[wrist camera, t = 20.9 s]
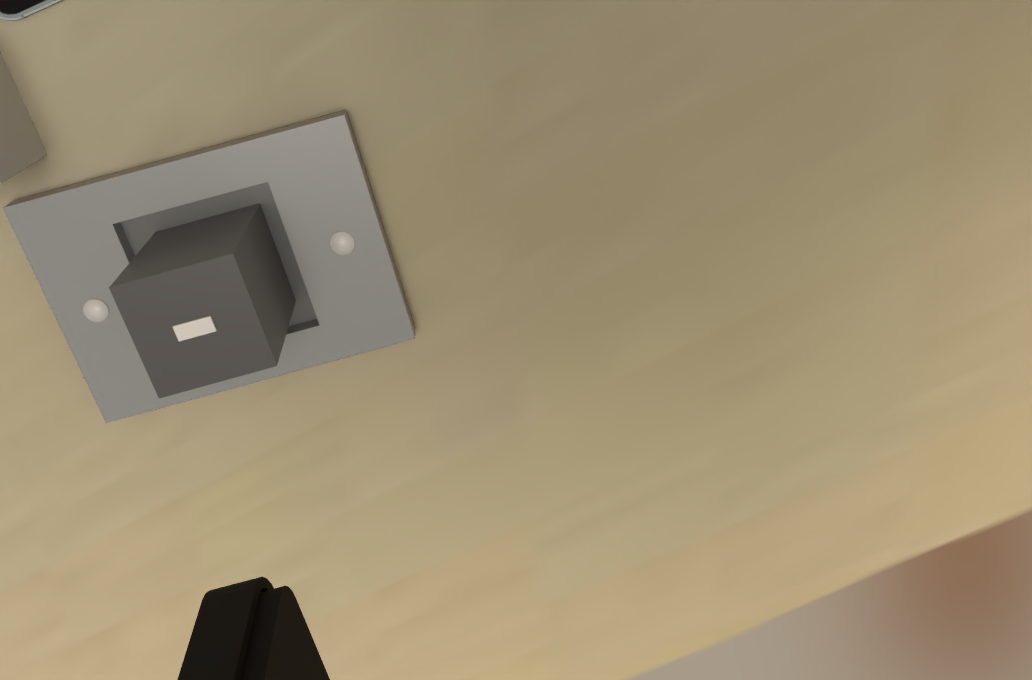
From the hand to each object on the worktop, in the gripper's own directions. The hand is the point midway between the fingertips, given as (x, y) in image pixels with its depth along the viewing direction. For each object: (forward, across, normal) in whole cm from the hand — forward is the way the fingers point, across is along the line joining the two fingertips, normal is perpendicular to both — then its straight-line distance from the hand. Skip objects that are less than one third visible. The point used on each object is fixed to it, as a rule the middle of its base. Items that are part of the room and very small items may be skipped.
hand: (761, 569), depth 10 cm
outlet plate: (+33, +13, +4) cm, 36 cm away
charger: (+32, +13, +4) cm, 35 cm away
